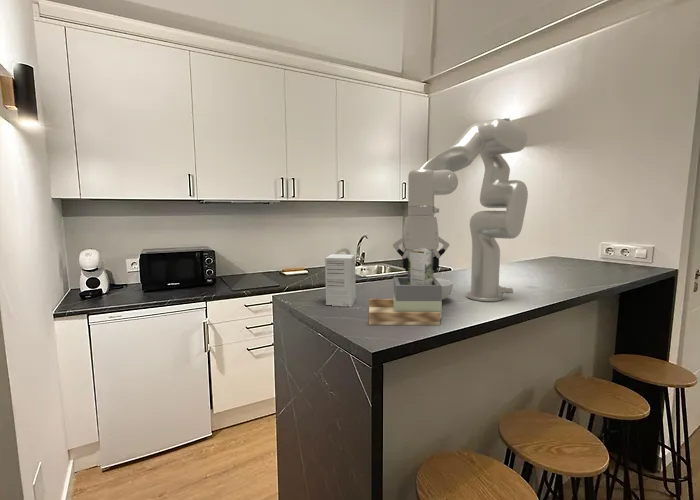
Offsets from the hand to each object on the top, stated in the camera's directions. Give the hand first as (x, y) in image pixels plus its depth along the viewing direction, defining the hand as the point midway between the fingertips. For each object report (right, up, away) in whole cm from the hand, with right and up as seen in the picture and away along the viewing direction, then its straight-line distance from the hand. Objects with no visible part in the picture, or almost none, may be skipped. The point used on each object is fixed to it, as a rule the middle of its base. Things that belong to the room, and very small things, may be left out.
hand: (420, 270), depth 109 cm
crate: (-1, -13, +1) cm, 13 cm away
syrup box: (0, -8, +1) cm, 8 cm away
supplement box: (-24, -13, +19) cm, 33 cm away
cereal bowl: (+7, -12, +21) cm, 25 cm away
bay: (-5, -14, +2) cm, 15 cm away
